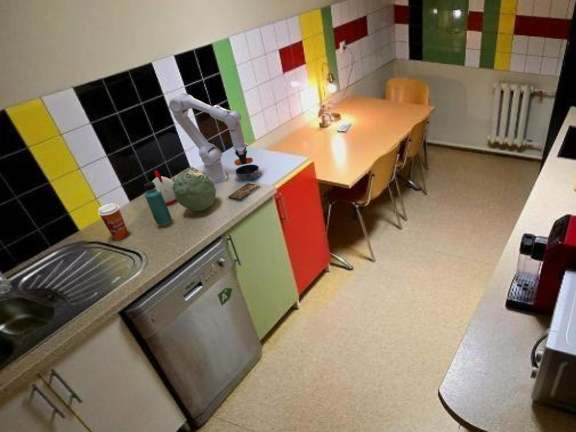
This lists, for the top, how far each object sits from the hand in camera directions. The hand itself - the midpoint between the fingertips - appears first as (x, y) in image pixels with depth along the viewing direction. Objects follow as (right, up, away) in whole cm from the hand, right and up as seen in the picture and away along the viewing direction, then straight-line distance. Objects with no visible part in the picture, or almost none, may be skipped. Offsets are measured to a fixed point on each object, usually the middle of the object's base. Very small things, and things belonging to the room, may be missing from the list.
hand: (244, 162), depth 209 cm
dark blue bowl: (0, -6, +7) cm, 10 cm away
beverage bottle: (-25, -30, -27) cm, 48 cm away
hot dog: (0, -1, 0) cm, 1 cm away
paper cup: (-40, -35, -33) cm, 63 cm away
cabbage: (-13, -24, -18) cm, 32 cm away
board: (+3, -16, -7) cm, 17 cm away
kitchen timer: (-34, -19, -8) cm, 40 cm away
